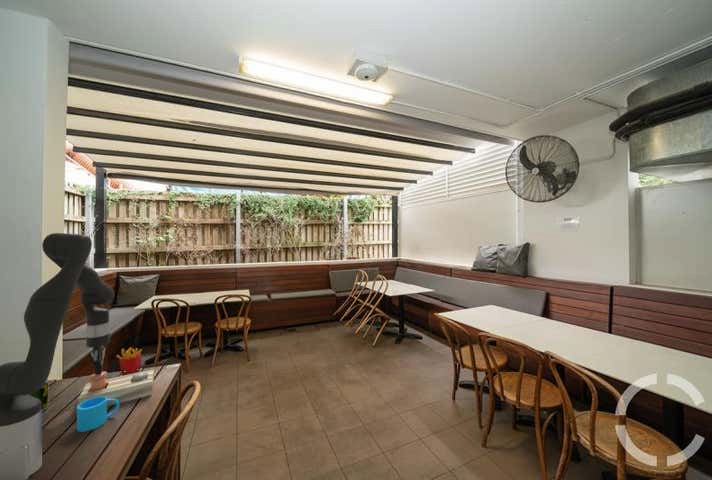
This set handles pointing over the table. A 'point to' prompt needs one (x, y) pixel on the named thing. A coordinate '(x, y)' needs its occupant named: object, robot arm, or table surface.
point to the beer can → (43, 395)
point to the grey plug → (139, 376)
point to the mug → (93, 413)
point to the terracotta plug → (98, 381)
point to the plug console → (121, 389)
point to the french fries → (130, 361)
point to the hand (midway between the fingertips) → (98, 373)
